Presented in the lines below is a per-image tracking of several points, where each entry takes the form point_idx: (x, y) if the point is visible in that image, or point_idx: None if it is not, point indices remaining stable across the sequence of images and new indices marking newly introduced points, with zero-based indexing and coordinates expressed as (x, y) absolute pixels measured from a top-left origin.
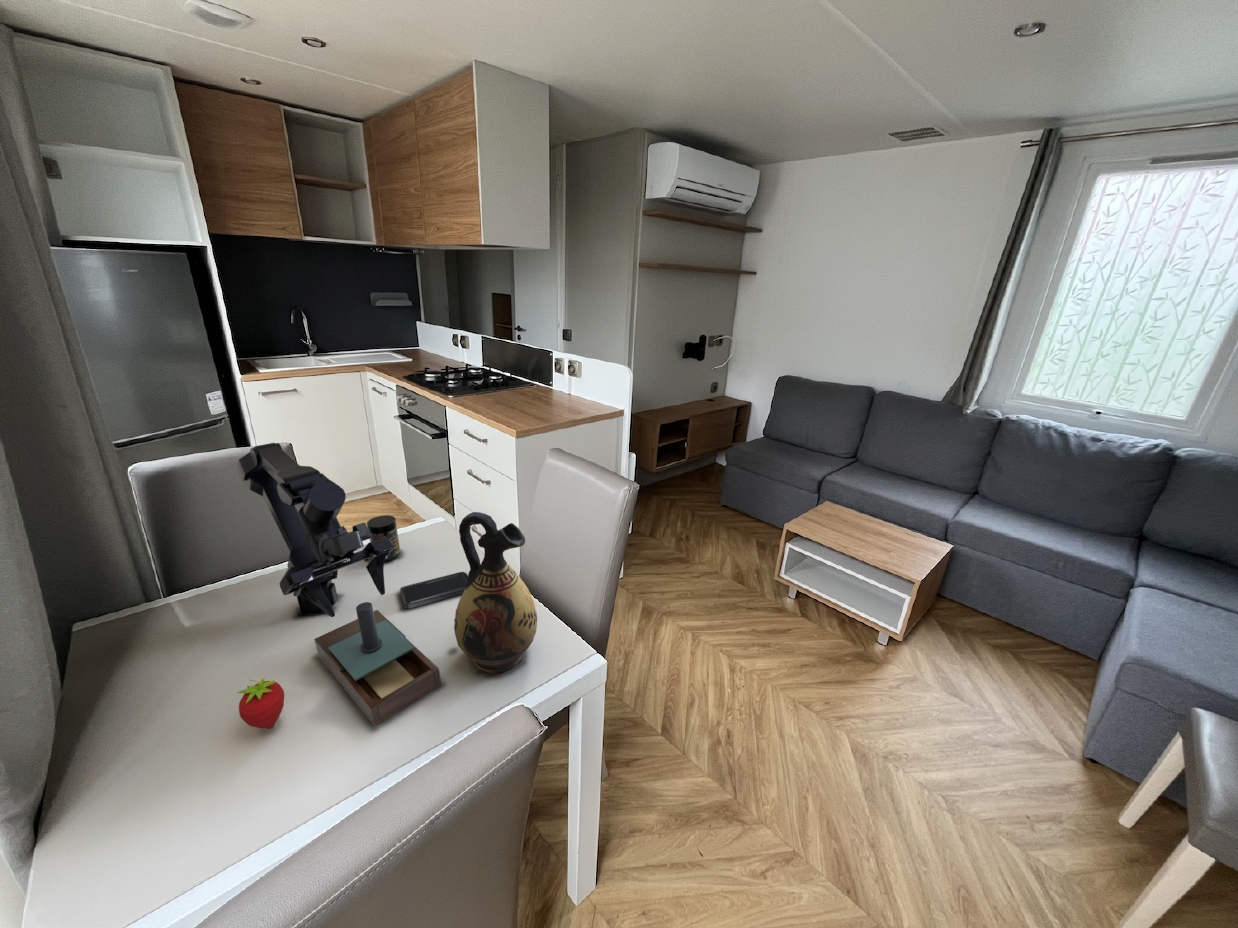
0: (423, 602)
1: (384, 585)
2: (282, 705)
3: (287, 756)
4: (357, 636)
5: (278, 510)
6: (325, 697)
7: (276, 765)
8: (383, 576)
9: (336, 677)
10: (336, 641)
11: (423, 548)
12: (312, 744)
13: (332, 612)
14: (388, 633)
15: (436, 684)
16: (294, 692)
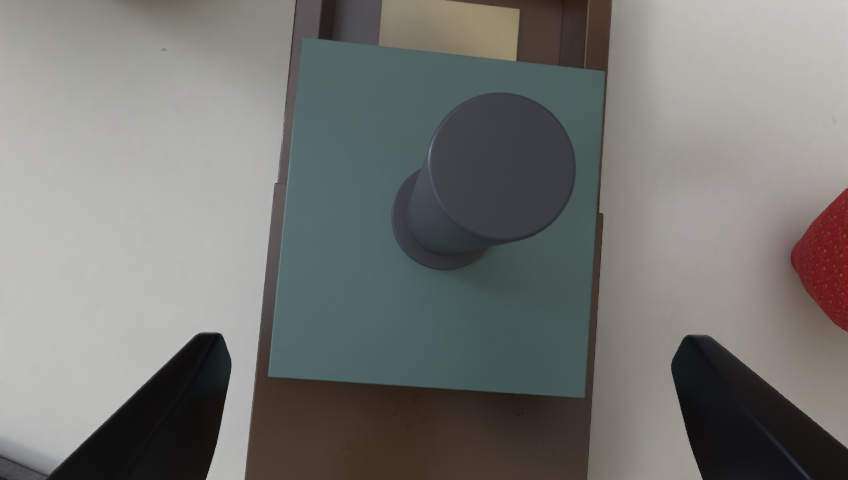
0: (11, 472)
1: (146, 383)
2: (842, 200)
3: (804, 89)
4: (448, 358)
5: None
6: (627, 238)
7: (836, 84)
8: (56, 473)
9: None
10: (520, 433)
11: None
12: (739, 70)
13: (718, 351)
14: (330, 246)
15: None
16: None
